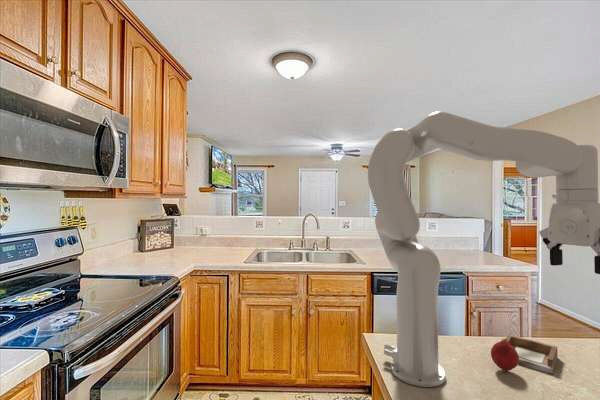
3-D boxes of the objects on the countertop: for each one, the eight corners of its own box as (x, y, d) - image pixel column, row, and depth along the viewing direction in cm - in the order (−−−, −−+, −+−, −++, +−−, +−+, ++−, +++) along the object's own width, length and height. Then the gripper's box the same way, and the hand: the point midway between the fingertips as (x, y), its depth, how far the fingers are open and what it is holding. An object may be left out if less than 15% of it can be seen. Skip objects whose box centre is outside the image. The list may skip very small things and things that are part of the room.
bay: (499, 358, 82) (499, 346, 82) (508, 344, 89) (508, 334, 89) (552, 374, 74) (552, 361, 74) (557, 357, 82) (557, 346, 82)
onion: (517, 380, 71) (516, 346, 71) (488, 371, 75) (488, 339, 75) (520, 370, 76) (520, 338, 76) (493, 362, 79) (493, 331, 80)
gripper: (529, 198, 80) (530, 263, 80) (608, 196, 64) (609, 278, 63) (551, 198, 82) (552, 261, 82) (634, 196, 65) (636, 276, 65)
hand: (577, 269), depth 73 cm, fingers open, 9 cm apart
